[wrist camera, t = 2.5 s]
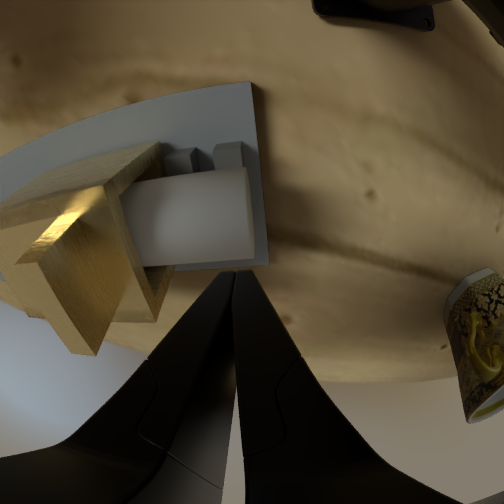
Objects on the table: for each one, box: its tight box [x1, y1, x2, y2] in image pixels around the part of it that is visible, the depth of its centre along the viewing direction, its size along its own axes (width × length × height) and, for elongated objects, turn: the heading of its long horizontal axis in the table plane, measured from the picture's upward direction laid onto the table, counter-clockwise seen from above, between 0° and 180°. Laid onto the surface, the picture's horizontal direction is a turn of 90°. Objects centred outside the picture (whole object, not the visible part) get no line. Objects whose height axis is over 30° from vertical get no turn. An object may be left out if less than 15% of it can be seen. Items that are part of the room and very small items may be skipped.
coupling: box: [0, 140, 176, 356], centre depth 11 cm, size 8×6×8 cm
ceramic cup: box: [444, 268, 504, 424], centre depth 15 cm, size 13×10×10 cm
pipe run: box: [0, 82, 269, 281], centre depth 13 cm, size 24×10×6 cm, turn 96°
